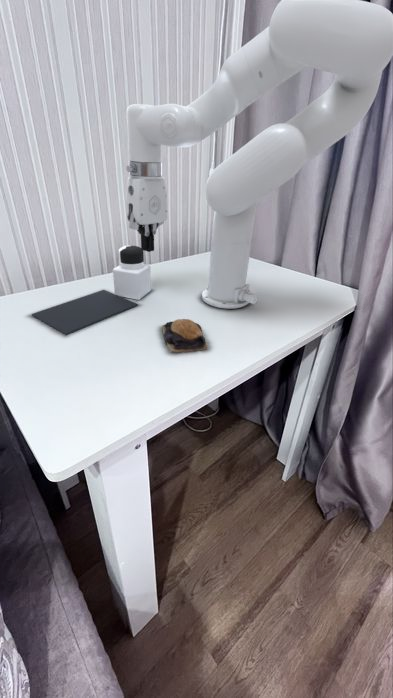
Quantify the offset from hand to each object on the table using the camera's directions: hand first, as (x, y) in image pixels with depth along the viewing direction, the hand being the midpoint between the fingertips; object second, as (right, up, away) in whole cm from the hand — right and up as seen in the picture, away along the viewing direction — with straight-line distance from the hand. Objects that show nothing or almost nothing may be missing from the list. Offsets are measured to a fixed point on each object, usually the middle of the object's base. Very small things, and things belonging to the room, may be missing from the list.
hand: (147, 250), depth 86 cm
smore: (+10, -24, -17) cm, 31 cm away
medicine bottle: (-4, -11, +1) cm, 12 cm away
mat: (-13, -17, -9) cm, 23 cm away
